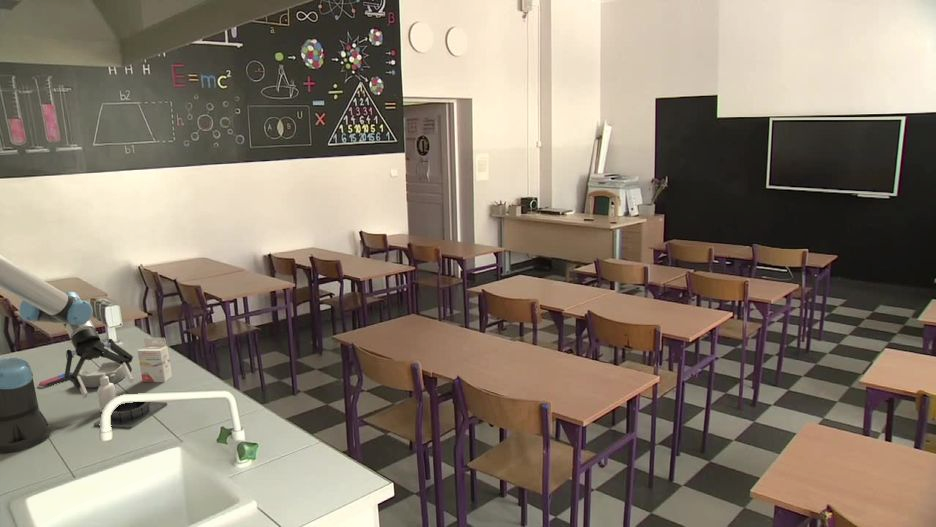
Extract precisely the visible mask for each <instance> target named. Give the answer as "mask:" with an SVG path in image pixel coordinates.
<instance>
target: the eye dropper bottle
mask: <svg viewBox="0 0 936 527" xmlns="http://www.w3.org/2000/svg"><path fill="white" fill-rule="evenodd" d="M100 384H101V386H100V387H97V398H98V404H99V409H100V412H101V413H102V410H103V409H104V407H105V405H106V404H107V403H108V402H109V401H110V400H111V399H113V398H114V397H117V393H116V386H115V383H114V384H113V383H109V378H108V376H105V373H102V377H101V378H100Z"/></svg>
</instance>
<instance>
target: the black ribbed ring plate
mask: <svg viewBox="0 0 936 527" xmlns="http://www.w3.org/2000/svg"><path fill="white" fill-rule="evenodd" d="M167 406H168V402H161V401H150V402H133V403H125V404H121V405H119V406H118V407H117V408H116V409H115V410H114V411H113V413H112V415H111V425H112V427H111V428H121V429H123V428H126V429H132V428H134V427H136V426H138V425H139V424H141V423H142V422H143V421H145V420H146V419H148V418H150V417H152V416H153V415H154V414H156V413H157V412H158V411H161V410H162V409H163V408H165V407H167ZM99 424H100V419H99V420H97V421H95V422H94V423H93V426H94V427H100V426H99Z"/></svg>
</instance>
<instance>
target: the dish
mask: <svg viewBox="0 0 936 527" xmlns="http://www.w3.org/2000/svg"><path fill="white" fill-rule="evenodd" d="M102 373H105V376H108V378H109V383H113V384H114V385H115V384H116V383H118V382H120V381H122V380H123V379H124V378H125V377H126V376H125V374H124V371H123V369H122V364H119V363H117V362H115V361H108V362H107V361H106V362H103V363H101V366H100V367H99V368H98V369H97V370H96V371H93V372H89V371H86V370H85V369H80V371H79V373H78V375H77V376H80V378H81V380H82V382H83V384H84V386H85V388H99V387H100V386H101V384H100V378H101V377H102Z"/></svg>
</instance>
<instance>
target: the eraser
mask: <svg viewBox="0 0 936 527" xmlns="http://www.w3.org/2000/svg"><path fill="white" fill-rule="evenodd" d="M72 374H73V372H71V371H70V374H69V375H72ZM64 375H65V373H63V374H60V375H57V376H55V377H52V378H48V379H45V380H43V381H40V382H39V383H38V385H37V388H38V389H41V388H42V389H46V387H47V388H49V386H50V387H52V385H53V386H55V385H54V384H56V385H57V383H59V384H61V383H60V382H62V383H64V382H63V381H64Z"/></svg>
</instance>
